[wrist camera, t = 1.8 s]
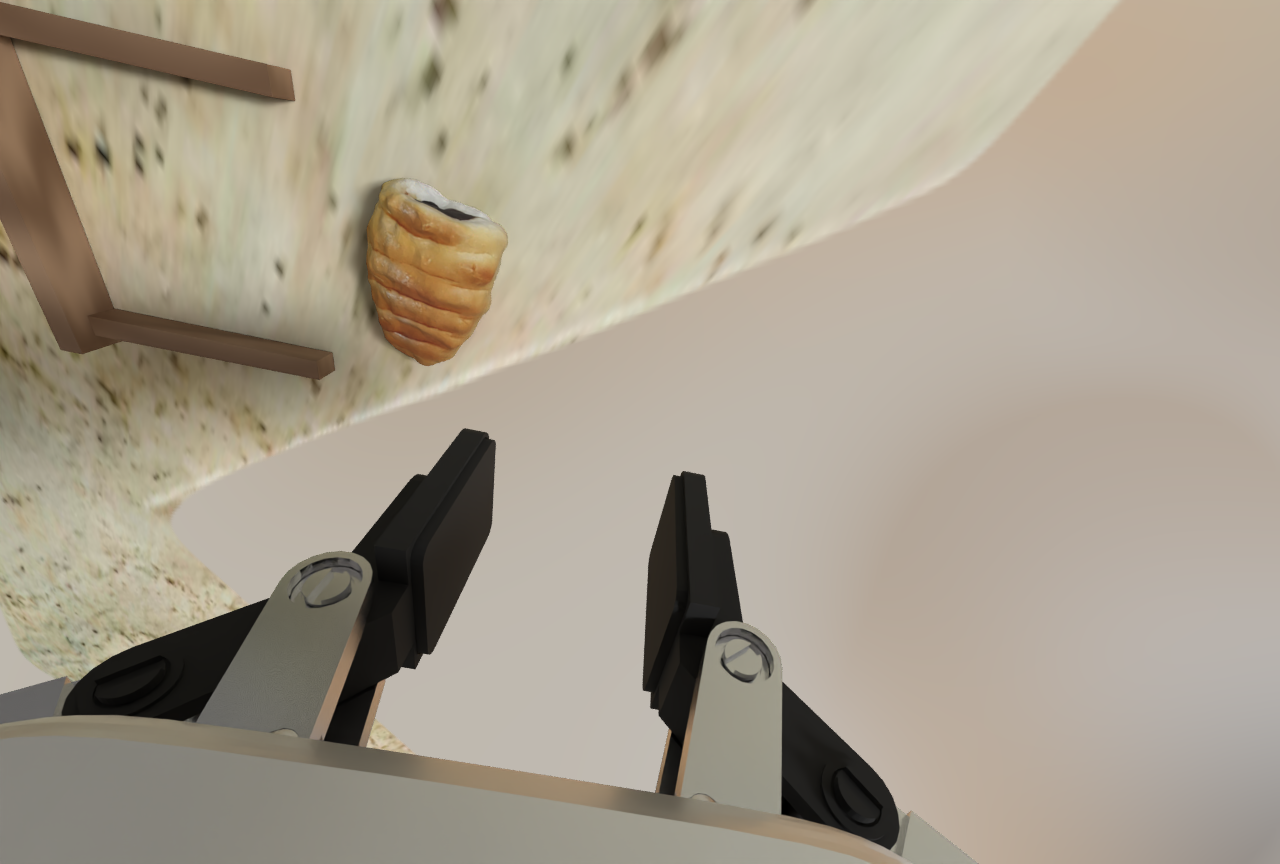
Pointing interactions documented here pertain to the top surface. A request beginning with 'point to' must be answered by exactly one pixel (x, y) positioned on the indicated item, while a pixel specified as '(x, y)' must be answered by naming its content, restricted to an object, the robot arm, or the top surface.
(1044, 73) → the top surface
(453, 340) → the pastry
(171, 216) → the top surface
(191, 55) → the bay
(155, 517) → the top surface
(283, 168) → the top surface
